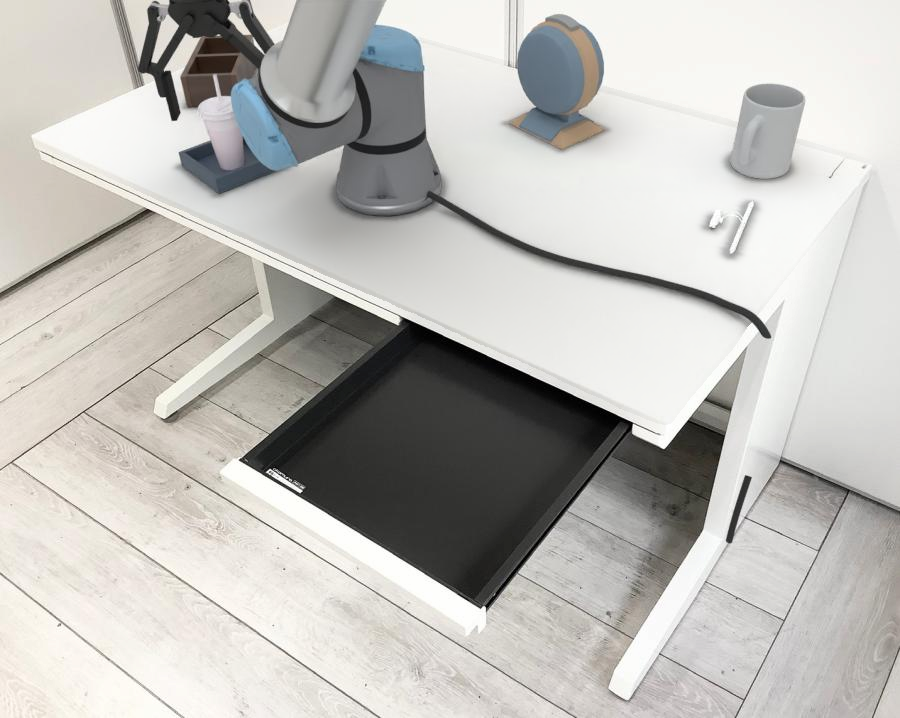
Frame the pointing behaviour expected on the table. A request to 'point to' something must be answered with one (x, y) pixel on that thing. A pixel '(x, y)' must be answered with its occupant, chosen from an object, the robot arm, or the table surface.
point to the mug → (767, 130)
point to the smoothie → (223, 129)
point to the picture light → (717, 219)
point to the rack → (214, 69)
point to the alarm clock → (559, 80)
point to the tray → (209, 171)
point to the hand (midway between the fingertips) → (222, 115)
